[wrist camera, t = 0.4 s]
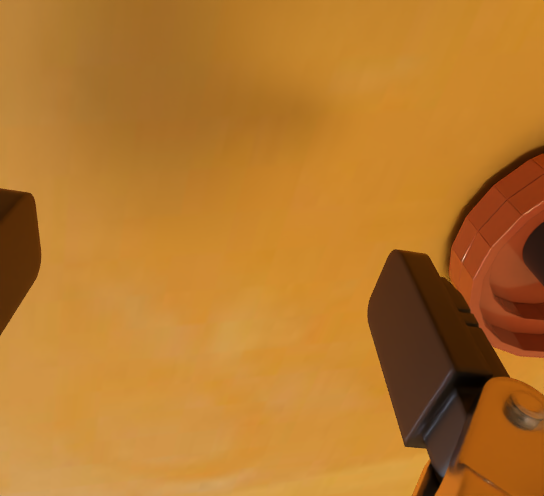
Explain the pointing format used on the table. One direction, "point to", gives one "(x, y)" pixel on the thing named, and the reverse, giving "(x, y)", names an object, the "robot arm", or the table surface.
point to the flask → (535, 253)
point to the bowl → (504, 262)
